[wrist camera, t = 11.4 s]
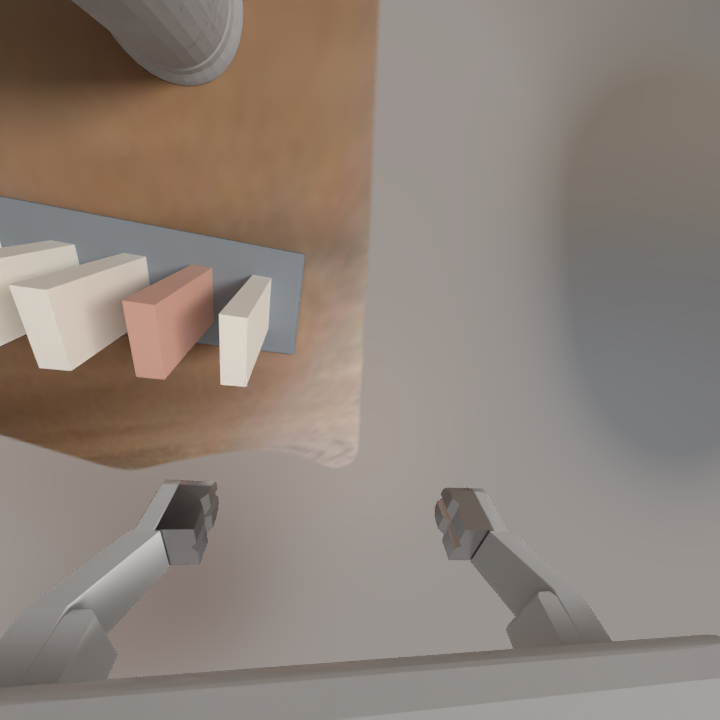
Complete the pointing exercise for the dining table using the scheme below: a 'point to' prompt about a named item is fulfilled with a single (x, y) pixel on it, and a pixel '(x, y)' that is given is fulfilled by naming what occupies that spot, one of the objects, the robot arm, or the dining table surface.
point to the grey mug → (174, 34)
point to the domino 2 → (78, 308)
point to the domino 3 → (168, 320)
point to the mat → (169, 258)
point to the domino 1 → (27, 276)
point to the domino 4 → (243, 330)
